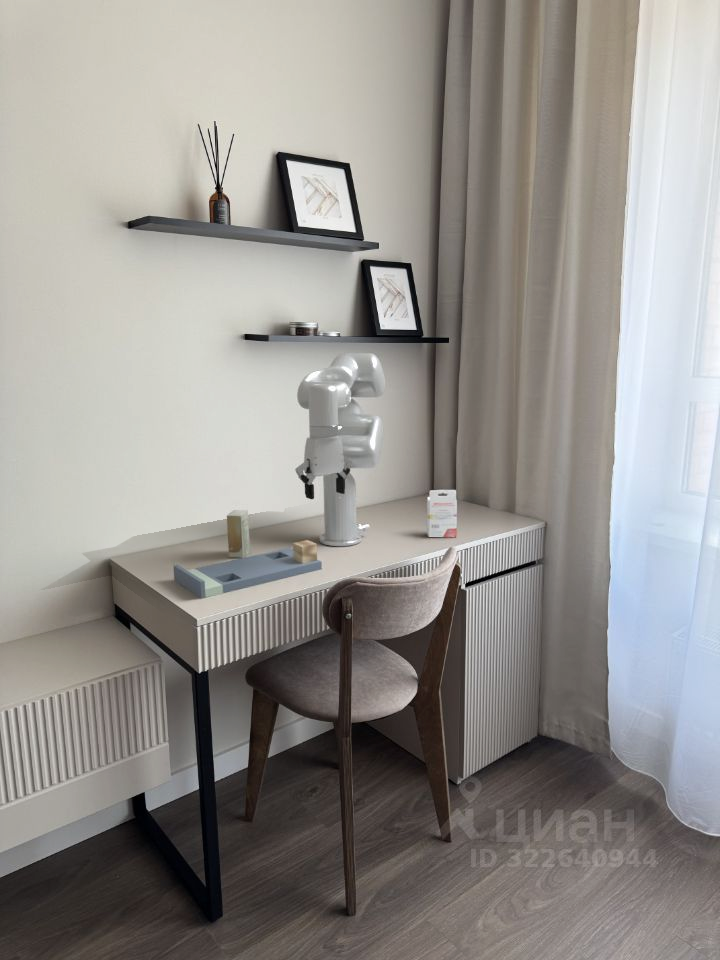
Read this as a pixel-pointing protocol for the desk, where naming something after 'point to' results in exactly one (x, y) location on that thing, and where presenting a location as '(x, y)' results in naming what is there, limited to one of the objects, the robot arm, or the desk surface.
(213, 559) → the desk surface
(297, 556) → the block
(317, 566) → the board
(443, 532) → the ink cartridge box
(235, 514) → the skincare box
